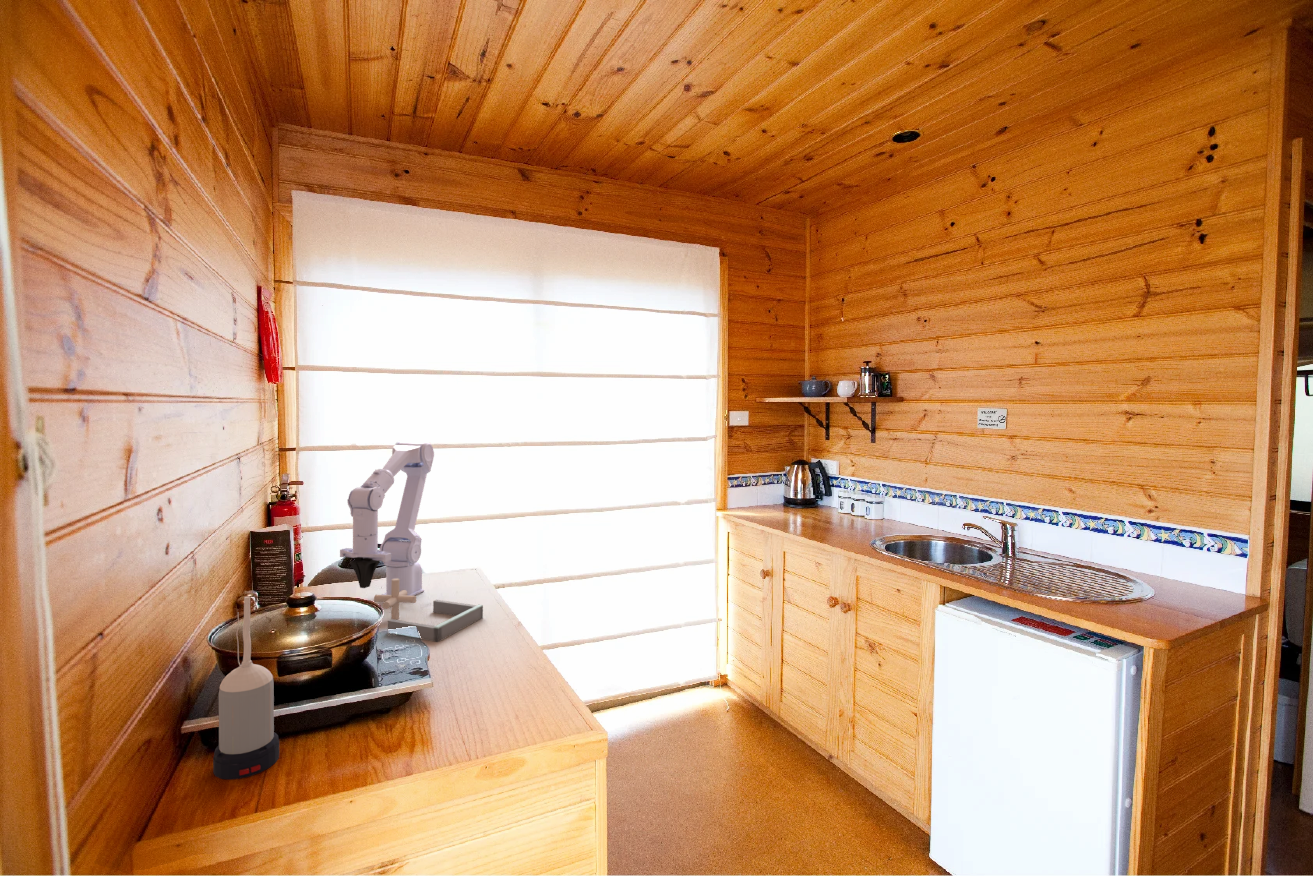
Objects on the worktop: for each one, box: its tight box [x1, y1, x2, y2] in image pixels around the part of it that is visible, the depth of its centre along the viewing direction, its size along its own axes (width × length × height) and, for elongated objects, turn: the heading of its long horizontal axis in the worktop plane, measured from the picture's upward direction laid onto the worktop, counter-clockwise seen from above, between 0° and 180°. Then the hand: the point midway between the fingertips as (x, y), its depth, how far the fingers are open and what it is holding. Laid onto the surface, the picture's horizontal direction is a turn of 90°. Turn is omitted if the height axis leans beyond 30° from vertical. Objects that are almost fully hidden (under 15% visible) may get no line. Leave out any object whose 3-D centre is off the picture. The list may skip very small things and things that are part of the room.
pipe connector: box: [373, 578, 417, 620], centre depth 153 cm, size 10×10×10 cm
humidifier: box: [212, 596, 280, 781], centre depth 90 cm, size 8×8×25 cm
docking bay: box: [387, 599, 484, 643], centre depth 149 cm, size 14×17×3 cm
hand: (365, 587), depth 155 cm, fingers closed
